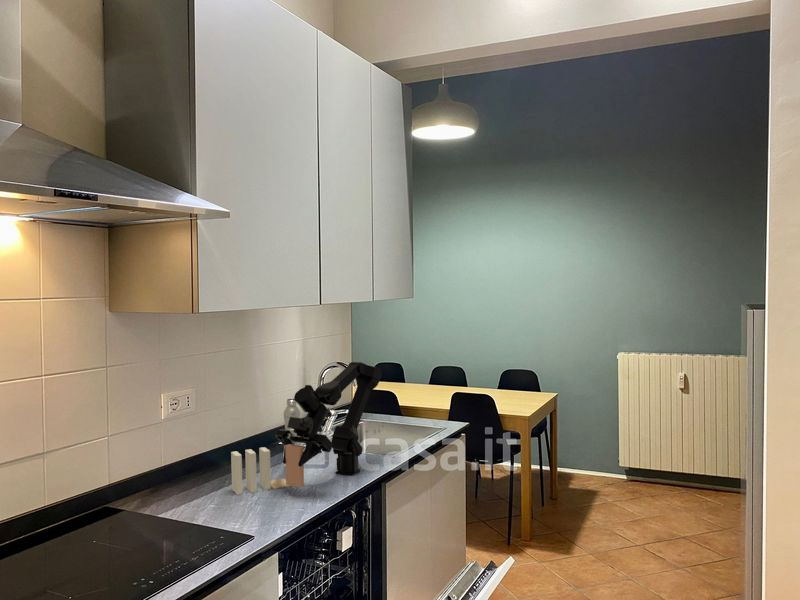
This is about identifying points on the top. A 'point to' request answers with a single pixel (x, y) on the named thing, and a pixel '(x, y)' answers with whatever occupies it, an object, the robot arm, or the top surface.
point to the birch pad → (279, 483)
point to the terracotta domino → (294, 465)
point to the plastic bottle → (291, 415)
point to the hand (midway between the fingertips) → (291, 464)
